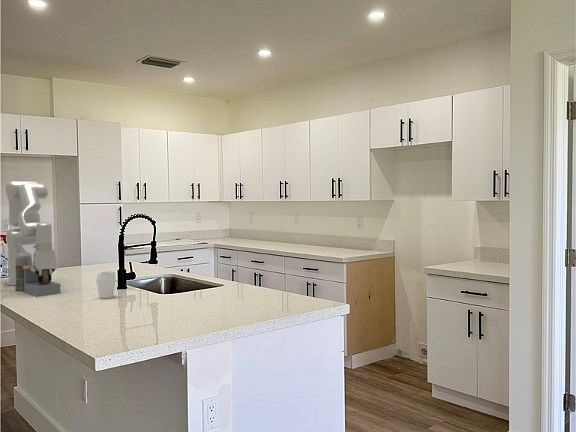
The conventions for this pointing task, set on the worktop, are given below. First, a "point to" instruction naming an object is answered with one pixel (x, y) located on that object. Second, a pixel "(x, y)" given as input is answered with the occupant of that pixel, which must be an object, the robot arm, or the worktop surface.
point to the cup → (106, 284)
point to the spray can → (21, 269)
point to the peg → (45, 277)
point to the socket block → (38, 284)
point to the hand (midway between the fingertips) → (44, 282)
